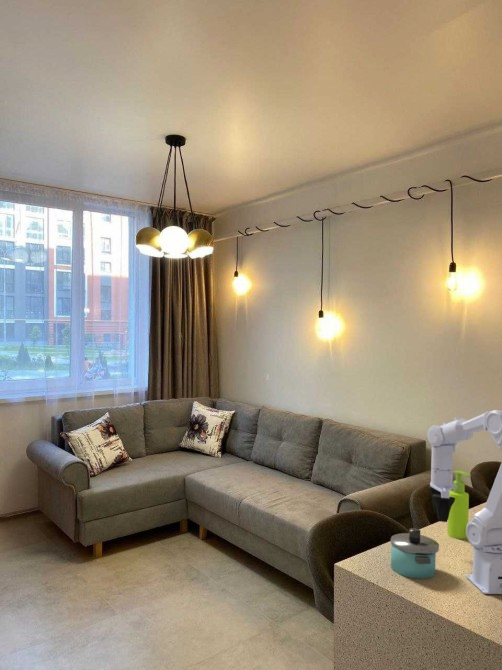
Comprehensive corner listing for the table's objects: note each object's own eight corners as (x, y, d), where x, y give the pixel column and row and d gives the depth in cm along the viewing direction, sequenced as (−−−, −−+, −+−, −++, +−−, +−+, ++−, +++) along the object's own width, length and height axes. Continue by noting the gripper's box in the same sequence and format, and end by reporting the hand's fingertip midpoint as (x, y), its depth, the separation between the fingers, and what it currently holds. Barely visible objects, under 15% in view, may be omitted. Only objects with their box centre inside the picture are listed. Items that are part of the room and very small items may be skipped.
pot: (445, 582, 124) (445, 557, 124) (401, 581, 123) (402, 557, 124) (422, 557, 138) (423, 536, 138) (383, 557, 138) (383, 535, 138)
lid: (443, 543, 133) (443, 528, 133) (433, 559, 123) (433, 542, 123) (398, 533, 140) (398, 519, 140) (384, 547, 129) (385, 531, 130)
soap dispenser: (460, 541, 152) (461, 474, 152) (443, 533, 158) (444, 469, 159) (474, 538, 154) (476, 473, 155) (457, 531, 160) (459, 468, 161)
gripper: (461, 475, 134) (460, 527, 133) (452, 464, 148) (451, 510, 148) (434, 473, 135) (432, 524, 135) (427, 462, 150) (426, 507, 149)
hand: (440, 516), depth 141 cm, fingers open, 7 cm apart
